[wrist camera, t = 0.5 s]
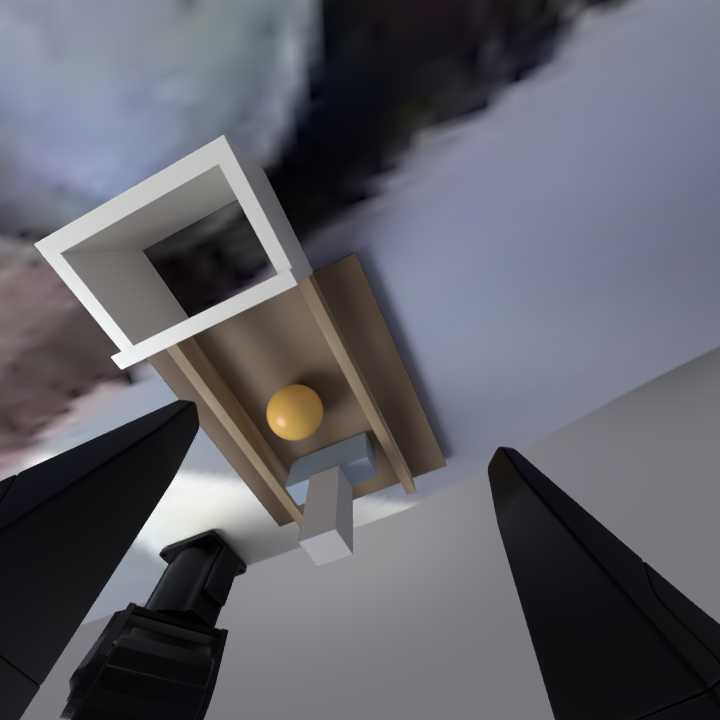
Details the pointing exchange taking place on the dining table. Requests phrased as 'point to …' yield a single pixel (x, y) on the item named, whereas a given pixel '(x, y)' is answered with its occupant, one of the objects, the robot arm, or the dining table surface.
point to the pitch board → (309, 368)
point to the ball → (294, 412)
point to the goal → (156, 222)
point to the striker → (330, 495)
